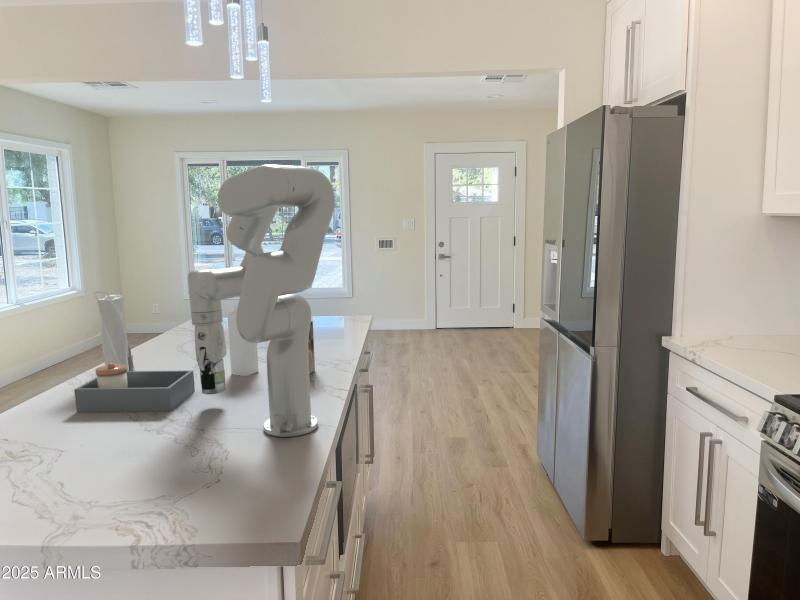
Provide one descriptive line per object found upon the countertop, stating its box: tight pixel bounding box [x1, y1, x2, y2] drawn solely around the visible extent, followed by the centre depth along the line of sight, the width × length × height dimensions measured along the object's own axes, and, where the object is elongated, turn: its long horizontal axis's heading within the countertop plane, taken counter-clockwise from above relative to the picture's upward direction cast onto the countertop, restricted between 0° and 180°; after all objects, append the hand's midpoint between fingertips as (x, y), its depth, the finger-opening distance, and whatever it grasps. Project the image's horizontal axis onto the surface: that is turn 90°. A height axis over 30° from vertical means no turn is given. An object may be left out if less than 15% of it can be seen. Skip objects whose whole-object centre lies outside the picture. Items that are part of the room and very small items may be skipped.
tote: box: [74, 369, 196, 414], centre depth 151 cm, size 16×24×7 cm, turn 89°
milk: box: [227, 304, 259, 377], centre depth 178 cm, size 6×6×22 cm
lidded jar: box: [94, 363, 128, 388], centre depth 151 cm, size 7×7×10 cm
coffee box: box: [308, 320, 316, 375], centre depth 176 cm, size 9×6×16 cm
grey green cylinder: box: [199, 358, 227, 395], centre depth 149 cm, size 6×6×8 cm
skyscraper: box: [93, 290, 136, 371], centre depth 170 cm, size 8×8×28 cm
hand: (213, 384), depth 149 cm, fingers closed on grey green cylinder, 6 cm apart
